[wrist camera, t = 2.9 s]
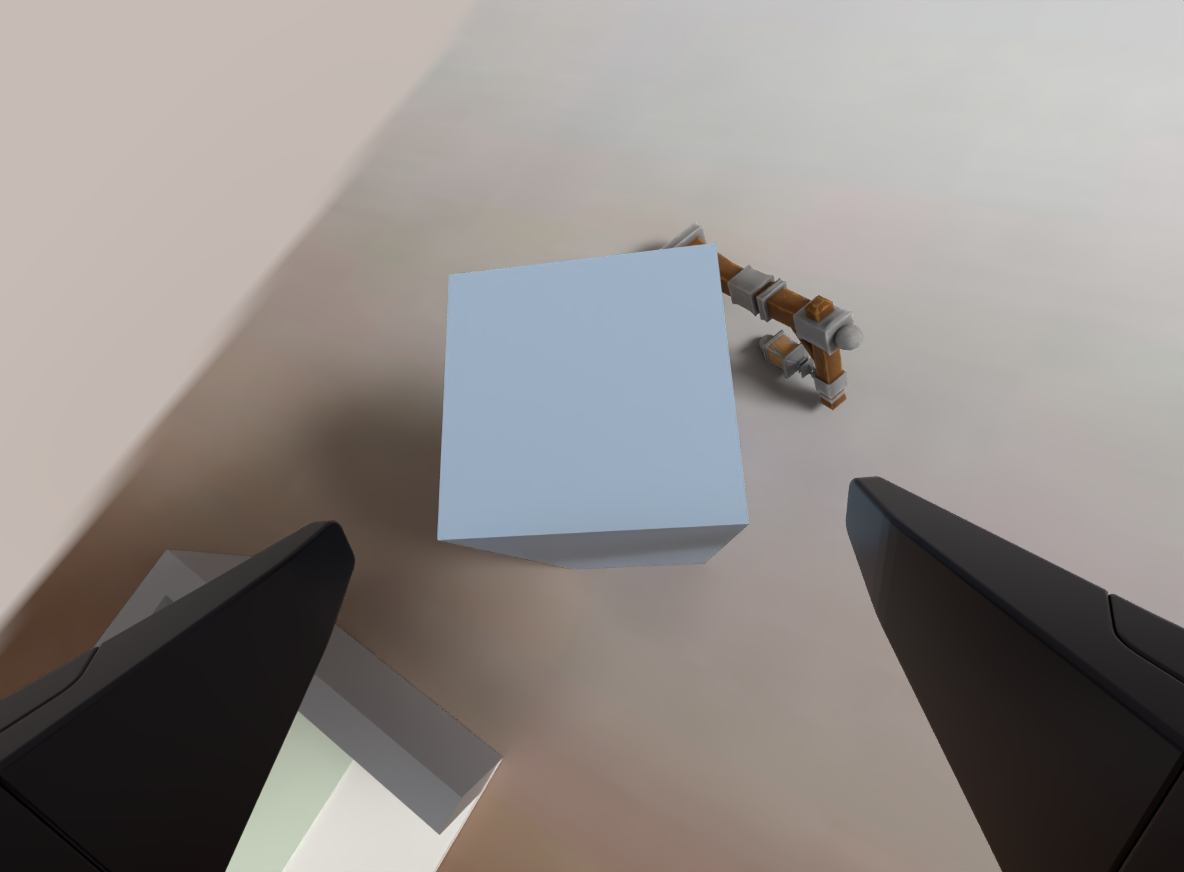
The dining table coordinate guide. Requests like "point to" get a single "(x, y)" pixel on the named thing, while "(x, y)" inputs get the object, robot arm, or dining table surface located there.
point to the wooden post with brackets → (790, 322)
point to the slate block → (591, 412)
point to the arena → (345, 756)
